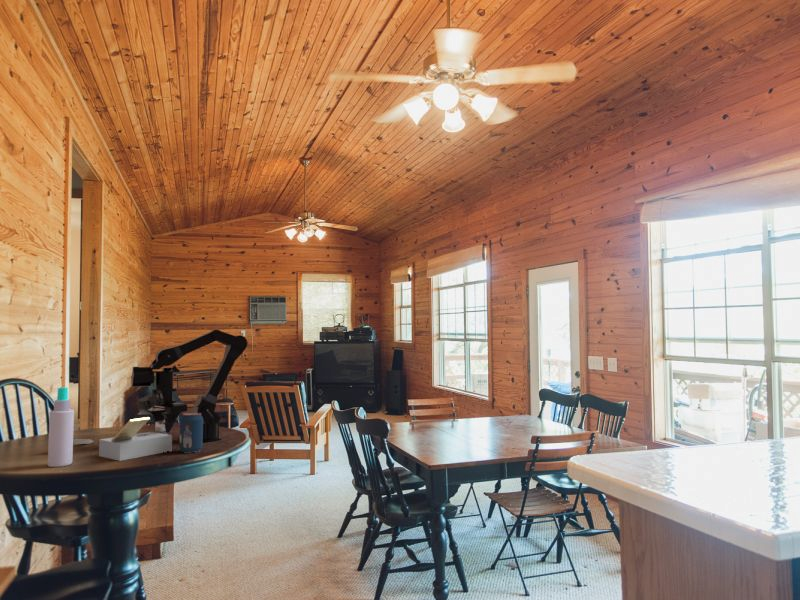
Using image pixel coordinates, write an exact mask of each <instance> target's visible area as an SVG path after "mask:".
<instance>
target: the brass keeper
mask: <svg viewBox="0 0 800 600" xmlns="http://www.w3.org/2000/svg"><path fill="white" fill-rule="evenodd" d="M149 420H151V417H149V416H147V417H139V418H133V419H131V418H130V419H129V420H128V421H127V423H125V424H124V426H123V427H122V428H121V429H120V430H119V431H118V433H116V434H115V436H114V438H113V437H112V438H113V439H114V440H117V439H124V438H130V437H133V436H134V435H135V434H138V432H139V431H140V430H141V429H142V428H143V427H144V426H145V425H146V424H147V423H148V422H149Z"/></svg>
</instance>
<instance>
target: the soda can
mask: <svg viewBox="0 0 800 600" xmlns="http://www.w3.org/2000/svg"><path fill="white" fill-rule="evenodd" d="M181 414H182V415H181V417H180V420H179V450H180V452H181V453H182V452H184V453H183V454H192V453H191V452H195V453H198V452H197V451H199V452H201V450H202V449H203V446H204V445H203V443H204V441H203V417H202V415H201V413H198V412H194V411H193V412H183V413H181Z"/></svg>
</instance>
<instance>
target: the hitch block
mask: <svg viewBox="0 0 800 600" xmlns="http://www.w3.org/2000/svg"><path fill="white" fill-rule="evenodd" d="M114 437H115V436H114ZM114 437H107V438H101V439H99V441H98V446H99V447H98V457H102V458H106V459H111V460H114V461H119V462H120V461H126V460H132V459H137V458H142V457H147V456H152V455H157V454H162V453H163V452H164V453H167V451H169V452H172V449H173V434H168V433H167V434H162V433H159V432H157V431H148V432H147V431H146V432H140V433H136V434H135V435H134V436H133V437H130V438H124V439H117V440H114V439H113V438H114ZM164 453H163V454H164Z"/></svg>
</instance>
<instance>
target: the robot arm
mask: <svg viewBox="0 0 800 600" xmlns="http://www.w3.org/2000/svg"><path fill="white" fill-rule="evenodd" d="M214 342H217V343H220V344H222V345H225V349H224V354H223V355H224V356H223V357H222V359H221V361H220V364H219V366H218V367H217V370H216V372H215V373H214V376H213V378H212V380H211V382H210V384H209V386H208V387H207V389H206V392H204V394H202V395H200V394H198V395H197V396H196V400H195V402H194V403H193V405H192V406H193V409H192V410H193V412H198V413H201V415H202V417H203V442H205V443H209V442H212V441H214V442H215V441H220V440H223V439H222V438H223V437H220V422H221V418H222V417H221V416H220V415H219V414H217V413H216V412H215V411H216V408H217V402H218V396H219V394H220V392H221V391H222V389H223V386H224V384H225V382H226V380H227V379H228V377H229V374H230V373H231V370H232V369H233V366H234V364H235V362H236V361H237V359H239V358H240V357H241V356H242V354H243V353H244V351H245V350H246V348H248V344H249V342H248V339H247V337H245V336H243V335H233V334H231V333H227V332H224V331H221V330H220V329H212V330H210V331H209V332H207V333H204V334H202V335H200V336H197V337H195V338H193V339H190V340H188V341H186V342H183V343H181V344H178V345H174V346H170V347H165V348H162V349H161V348H160V349H159V350H158V351H157V352H156V353H155V355H154V359H153V361H152V362H151V363H150V364H149V365H148V366H132V370H131V375H130V384H131V385H130V386H131V388H141V387H142V388H144V387H145V388H146V387H151V385H153V384H155V385H154V388H152V390H151V394H147V395H145V396H144V397H141V398H140V399H138V400H137V403H138V407H139V409H140V410H145V411H146V413H149V415H151V417H152V419H153V423H154V424H155V422H156V421H164V420H165V428H166V433H167V434H168V433H170V432H171V431H172V429H173V426H174V424H175V423H176V421H177V419H178V417H179V415H181V414H182V413H186V412H188V404H187V403H186V402H176V401H177V400H174V392H176V391H177V389H176V388H175V387H174V377H175V376H174V374H175V373H180V372H181V370H180V369H179V368H178V367H177V366H176V364H175V363H177V362H178V361H179V360H180V359H181V358H183V357H184V356H186V355H187V354H190V353H193V352H194V351H196V350H198V349H201V348H203V347H206V346H208V345H210V344H212V343H214ZM174 364H175V365H174ZM171 365H172V366H171ZM169 366H171V367H169ZM160 369H161V370H160ZM154 382H155V383H154Z"/></svg>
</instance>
